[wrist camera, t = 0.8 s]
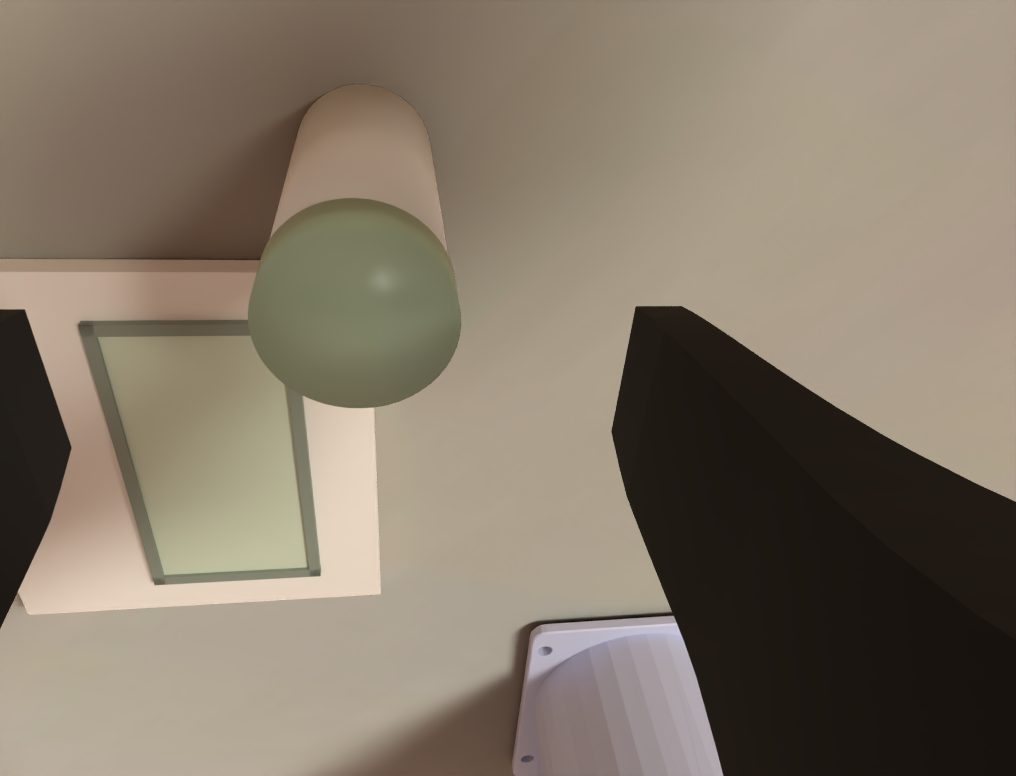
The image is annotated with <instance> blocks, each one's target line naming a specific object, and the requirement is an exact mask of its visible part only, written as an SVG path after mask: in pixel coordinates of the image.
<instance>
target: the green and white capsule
mask: <svg viewBox="0 0 1016 776" xmlns="http://www.w3.org/2000/svg"><path fill="white" fill-rule="evenodd" d="M248 327H249V331H250V335H251V339H252V342H253V344H254V347H255V349H256V351H257V353H258V355H259V356H260V358H261V360H262V361H263V363H264V364H265V365H266V367H267V368H268V369H269V370H270V371H271V372H272V373H273V374H274V376H275V377H276V378H277V379H279V380H280V381H281V382H282V383H284V384H285V385H286V386H287V387H289V388H291V389H292V390H294V391H295V392H297V393H299V394H301V395H303V396H305V397H307V398H309V399H312V400H314V401H317V402H320V403H323V404H327V405H332V406H336V407H344V408H373V407H379V406H385V405H389V404H392V403H395V402H399V401H401V400H404V399H406V398H408V397H410V396H412V395H414V394H416V393H418V392H419V391H421V390H422V389H424V388H425V387H427V386H428V385H429V384H431V383H432V382H433V381H434V380H435V379H436V378H437V377H438V376H439V375H440V374H441V373H442V371H443V370H444V369H445V368H446V366H447V365H448V363H449V362H450V360H451V358H452V356H453V354H454V352H455V350H456V347H457V344H458V340H459V337H460V329H461V312H460V306H459V300H458V294H457V288H456V282H455V276H454V271H453V267H452V264H451V261H450V258H449V256H448V253H447V246H446V240H445V234H444V227H443V221H442V215H441V208H440V202H439V196H438V189H437V183H436V177H435V170H434V164H433V158H432V151H431V145H430V140H429V136H428V133H427V130H426V128H425V125H424V123H423V121H422V120H421V118H420V117H419V115H418V114H417V112H416V111H415V110H414V109H413V108H412V107H411V106H410V105H409V104H408V103H407V102H406V101H405V100H403V99H402V98H401V97H399V96H398V95H396V94H394V93H392V92H390V91H388V90H386V89H383V88H380V87H376V86H372V85H363V84H359V85H348V86H343V87H340V88H337V89H334V90H332V91H330V92H328V93H326V94H325V95H323V96H322V97H320V98H319V99H318V100H317V101H316V102H314V103H313V104H312V106H311V107H310V108H309V109H308V111H307V112H306V114H305V116H304V117H303V119H302V122H301V124H300V127H299V130H298V134H297V138H296V142H295V145H294V149H293V153H292V157H291V161H290V164H289V168H288V172H287V176H286V179H285V183H284V187H283V191H282V194H281V198H280V202H279V206H278V209H277V213H276V217H275V221H274V224H273V228H272V232H271V236H270V239H269V241H268V243H267V244H266V246H265V249H264V251H263V253H262V256H261V259H260V262H259V266H258V270H257V273H256V277H255V281H254V284H253V288H252V292H251V295H250V299H249V305H248Z"/></svg>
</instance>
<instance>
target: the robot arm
mask: <svg viewBox="0 0 1016 776" xmlns="http://www.w3.org/2000/svg"><path fill="white" fill-rule="evenodd" d="M612 436H613V440H614V445H615V449H616V454H617V458H618V463H619V467H620V471H621V475H622V479H623V483H624V487H625V491H626V495H627V498H628V501H629V503H630V506H631V509H632V511H633V514H634V517H635V519H636V522H637V524H638V527H639V529H640V532H641V535H642V537H643V540H644V542H645V545H646V547H647V550H648V552H649V555H650V558H651V560H652V563H653V565H654V568H655V570H656V573H657V575H658V578H659V580H660V583H661V585H662V588H663V590H664V593H665V595H666V598H667V600H668V603H669V605H670V608H671V610H672V613H673V615H674V616H660V617H645V618H630V619H615V620H600V621H585V622H570V623H555V624H544V625H540V626H538V627H536V628H535V629H534V630H532V632H531V634H530V640H529V647H528V654H527V661H526V669H525V676H524V683H523V690H522V697H521V704H520V711H519V718H518V725H517V732H516V739H515V746H514V753H513V760H512V769H513V774H514V775H515V776H1016V502H1015V501H1013V500H1010V499H1008V498H1006V497H1004V496H1002V495H1000V494H997V493H995V492H993V491H991V490H989V489H987V488H984V487H982V486H980V485H978V484H976V483H974V482H972V481H970V480H968V479H966V478H964V477H962V476H960V475H958V474H956V473H954V472H952V471H950V470H948V469H946V468H944V467H942V466H940V465H938V464H936V463H934V462H932V461H930V460H928V459H926V458H924V457H923V456H921V455H919V454H917V453H915V452H913V451H911V450H909V449H907V448H905V447H904V446H902V445H900V444H898V443H896V442H895V441H893V440H891V439H889V438H887V437H886V436H884V435H882V434H880V433H879V432H877V431H875V430H874V429H872V428H870V427H869V426H867V425H865V424H864V423H862V422H860V421H859V420H857V419H855V418H854V417H852V416H850V415H849V414H847V413H845V412H844V411H842V410H840V409H839V408H837V407H835V406H834V405H832V404H831V403H829V402H827V401H826V400H824V399H823V398H821V397H820V396H818V395H816V394H815V393H813V392H812V391H810V390H809V389H807V388H806V387H804V386H803V385H801V384H799V383H798V382H796V381H795V380H793V379H792V378H790V377H789V376H787V375H786V374H784V373H783V372H781V371H780V370H778V369H777V368H776V367H774V366H773V365H771V364H770V363H768V362H767V361H765V360H764V359H762V358H761V357H759V356H758V355H756V354H755V353H754V352H752V351H751V350H749V349H748V348H746V347H745V346H743V345H742V344H740V343H739V342H738V341H736V340H735V339H733V338H732V337H730V336H729V335H727V334H726V333H724V332H723V331H721V330H720V329H718V328H717V327H715V326H714V325H712V324H711V323H709V322H708V321H706V320H705V319H703V318H701V317H700V316H698V315H696V314H695V313H693V312H691V311H689V310H688V309H686V308H684V307H682V306H637V307H636V308H635V313H634V318H633V323H632V329H631V334H630V339H629V344H628V349H627V354H626V359H625V365H624V370H623V375H622V380H621V385H620V390H619V396H618V401H617V406H616V411H615V416H614V421H613V426H612ZM71 449H72V447H71V444H70V441H69V438H68V435H67V432H66V429H65V426H64V423H63V420H62V417H61V414H60V411H59V408H58V405H57V403H56V400H55V397H54V394H53V391H52V388H51V385H50V382H49V379H48V376H47V373H46V370H45V367H44V364H43V361H42V358H41V355H40V352H39V349H38V346H37V344H36V341H35V338H34V335H33V332H32V329H31V326H30V323H29V320H28V317H27V314H26V311H25V309H0V628H1V626H2V624H3V622H4V619H5V617H6V615H7V613H8V611H9V609H10V607H11V605H12V603H13V601H14V599H15V596H16V594H17V592H18V590H19V588H20V586H21V584H22V582H23V580H24V578H25V575H26V573H27V571H28V569H29V567H30V565H31V562H32V560H33V558H34V556H35V554H36V552H37V550H38V547H39V545H40V543H41V541H42V539H43V536H44V534H45V532H46V530H47V528H48V525H49V523H50V521H51V518H52V514H53V511H54V508H55V505H56V502H57V499H58V495H59V492H60V489H61V485H62V482H63V478H64V474H65V471H66V467H67V463H68V460H69V456H70V452H71Z"/></svg>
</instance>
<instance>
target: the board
mask: <svg viewBox="0 0 1016 776" xmlns="http://www.w3.org/2000/svg"><path fill="white" fill-rule="evenodd" d="M259 262H260V260H128V259H0V309H25V311H26V314H27V317H28V320H29V323H30V326H31V329H32V332H33V335H34V338H35V341H36V344H37V346H38V349H39V352H40V355H41V358H42V361H43V364H44V367H45V370H46V373H47V376H48V379H49V382H50V385H51V388H52V391H53V394H54V397H55V400H56V403H57V405H58V408H59V411H60V414H61V417H62V420H63V423H64V426H65V429H66V432H67V435H68V438H69V441H70V444H71V447H72V449H71V452H70V456H69V460H68V463H67V467H66V471H65V474H64V478H63V482H62V485H61V489H60V492H59V495H58V499H57V502H56V505H55V508H54V511H53V514H52V518H51V521H50V523H49V525H48V528H47V530H46V532H45V534H44V536H43V539H42V541H41V543H40V545H39V547H38V550H37V552H36V554H35V556H34V558H33V560H32V562H31V565H30V567H29V569H28V571H27V573H26V575H25V578H24V580H23V582H22V584H21V586H20V588H19V590H18V593H19V595H20V597H21V599H22V602H23V604H24V606H25V608H26V610H27V613H28V615H34V614H51V613H68V612H85V611H102V610H119V609H137V608H154V607H171V606H188V605H205V604H222V603H239V602H256V601H273V600H290V599H307V598H324V597H341V596H358V595H375V594H381V578H380V551H379V524H378V497H377V470H376V443H375V416H374V407H373V408H344V407H336V406H332V405H327V404H323V403H320V402H317V401H314V400H312V399H309V398H307V397H305V396H303V395H301V394H299V393H297V392H295V391H294V390H292V389H291V388H289V387H287V386H286V385H285V384H284V383H282V382H281V381H280V380H279V379H277V378H276V377H275V376H274V374H273V373H272V372H271V371H270V370H269V369H268V368H267V367H266V365H265V364H264V363H263V361H262V360H261V358H260V356H259V355H258V353H257V351H256V349H255V347H254V344H253V342H252V339H251V335H250V331H249V327H248V305H249V299H250V295H251V292H252V288H253V284H254V281H255V277H256V273H257V270H258V266H259Z"/></svg>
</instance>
